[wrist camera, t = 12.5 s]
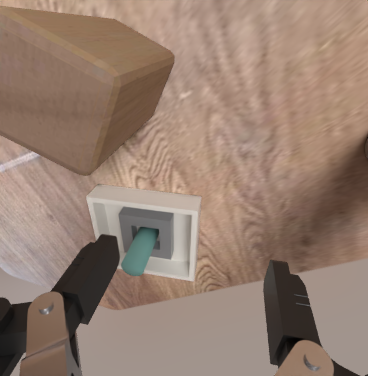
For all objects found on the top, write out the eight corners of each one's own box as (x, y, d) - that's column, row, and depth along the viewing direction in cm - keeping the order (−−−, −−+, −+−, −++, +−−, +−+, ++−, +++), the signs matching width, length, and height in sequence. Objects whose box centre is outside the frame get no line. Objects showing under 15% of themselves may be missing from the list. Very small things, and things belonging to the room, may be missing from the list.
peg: (159, 222, 49) (143, 261, 40) (159, 238, 51) (144, 277, 42) (140, 220, 49) (120, 257, 41) (141, 235, 51) (122, 273, 43)
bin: (201, 196, 45) (198, 211, 41) (196, 264, 54) (193, 281, 50) (98, 183, 48) (86, 196, 44) (111, 250, 57) (102, 265, 53)
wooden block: (152, 119, 39) (87, 183, 22) (93, 87, 38) (-21, 130, 21) (178, 54, 33) (119, 75, 17) (111, 15, 32) (-24, -4, 16)
